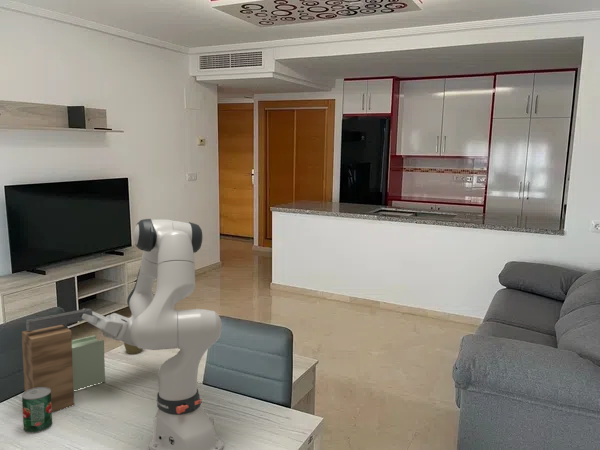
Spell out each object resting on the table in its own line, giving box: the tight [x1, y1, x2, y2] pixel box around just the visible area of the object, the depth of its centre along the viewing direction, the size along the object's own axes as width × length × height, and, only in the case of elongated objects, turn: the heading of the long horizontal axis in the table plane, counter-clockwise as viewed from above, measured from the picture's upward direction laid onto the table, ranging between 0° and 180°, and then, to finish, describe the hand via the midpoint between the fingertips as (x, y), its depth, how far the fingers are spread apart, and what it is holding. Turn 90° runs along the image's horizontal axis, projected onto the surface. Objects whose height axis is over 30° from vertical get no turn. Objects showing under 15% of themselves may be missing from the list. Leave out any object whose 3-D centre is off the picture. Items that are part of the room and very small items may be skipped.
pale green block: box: [72, 334, 106, 391], centre depth 176 cm, size 8×15×16 cm, turn 136°
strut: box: [25, 307, 93, 331], centre depth 161 cm, size 3×20×3 cm, turn 135°
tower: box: [21, 324, 75, 413], centre depth 160 cm, size 10×12×30 cm
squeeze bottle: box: [123, 313, 143, 355], centre depth 209 cm, size 8×8×18 cm
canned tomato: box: [21, 387, 53, 434], centre depth 148 cm, size 8×8×11 cm
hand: (79, 314), depth 166 cm, fingers closed on strut, 3 cm apart
